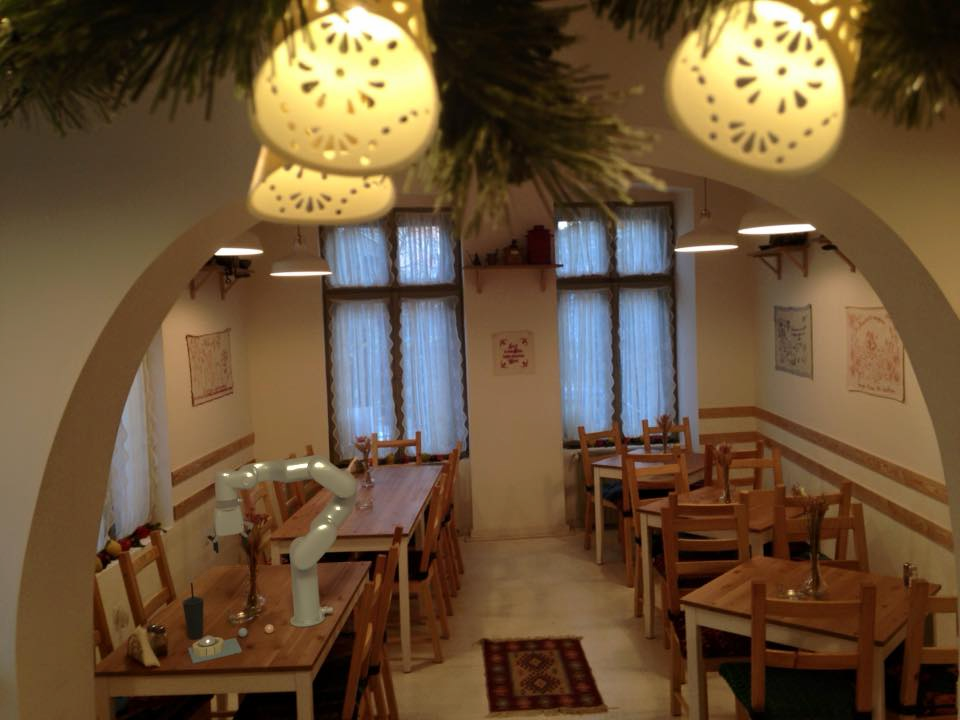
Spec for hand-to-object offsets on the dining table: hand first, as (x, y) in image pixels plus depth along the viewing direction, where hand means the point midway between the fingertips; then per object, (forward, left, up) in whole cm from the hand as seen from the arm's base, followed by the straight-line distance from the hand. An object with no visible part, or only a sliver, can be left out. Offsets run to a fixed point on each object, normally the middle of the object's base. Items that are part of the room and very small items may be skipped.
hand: (230, 550), depth 302 cm
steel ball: (+12, +15, -27) cm, 33 cm away
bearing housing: (+10, +15, -30) cm, 35 cm away
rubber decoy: (-1, +7, -29) cm, 30 cm away
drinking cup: (+14, -3, -31) cm, 34 cm away
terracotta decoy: (-10, +9, -29) cm, 32 cm away
